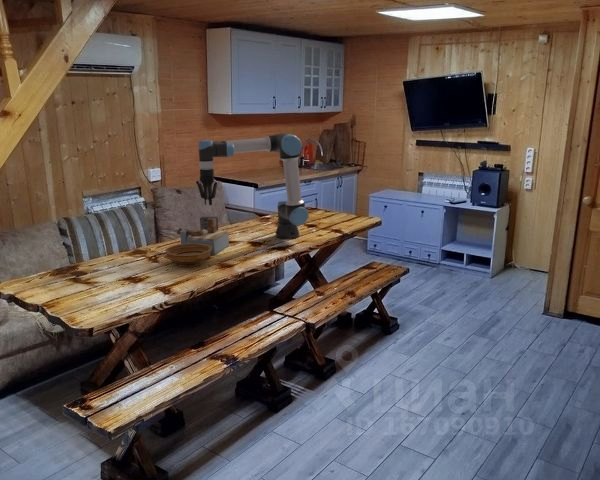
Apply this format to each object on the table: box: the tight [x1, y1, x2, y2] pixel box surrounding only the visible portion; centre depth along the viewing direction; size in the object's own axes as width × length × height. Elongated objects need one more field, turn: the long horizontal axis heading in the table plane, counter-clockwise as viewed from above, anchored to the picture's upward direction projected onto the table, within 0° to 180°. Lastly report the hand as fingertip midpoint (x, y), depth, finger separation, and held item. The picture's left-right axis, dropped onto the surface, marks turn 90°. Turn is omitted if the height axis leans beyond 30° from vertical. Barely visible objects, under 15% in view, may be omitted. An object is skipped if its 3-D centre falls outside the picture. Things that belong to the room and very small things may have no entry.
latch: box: [176, 227, 203, 236], centre depth 307 cm, size 15×3×3 cm, turn 74°
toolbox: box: [179, 227, 230, 256], centre depth 310 cm, size 22×20×12 cm
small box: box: [199, 216, 219, 231], centre depth 349 cm, size 11×6×10 cm, turn 84°
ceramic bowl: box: [163, 243, 213, 267], centre depth 284 cm, size 30×24×8 cm
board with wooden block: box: [189, 218, 228, 241], centre depth 308 cm, size 15×19×9 cm
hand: (208, 210), depth 300 cm, fingers closed
